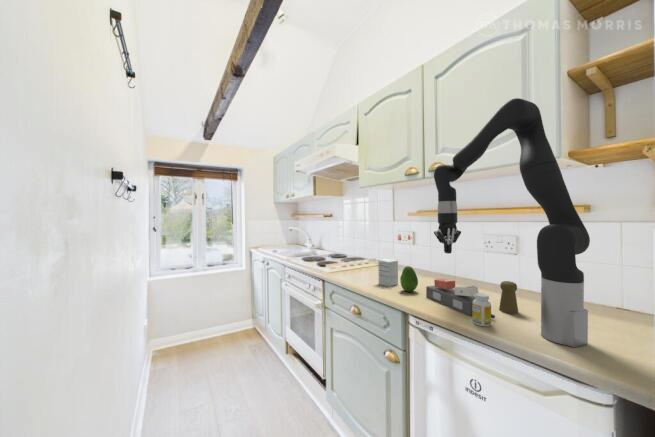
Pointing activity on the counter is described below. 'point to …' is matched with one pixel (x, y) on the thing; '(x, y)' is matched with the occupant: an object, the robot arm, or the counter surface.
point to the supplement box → (388, 272)
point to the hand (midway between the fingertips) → (448, 253)
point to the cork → (508, 298)
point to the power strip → (451, 299)
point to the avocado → (409, 279)
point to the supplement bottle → (481, 310)
